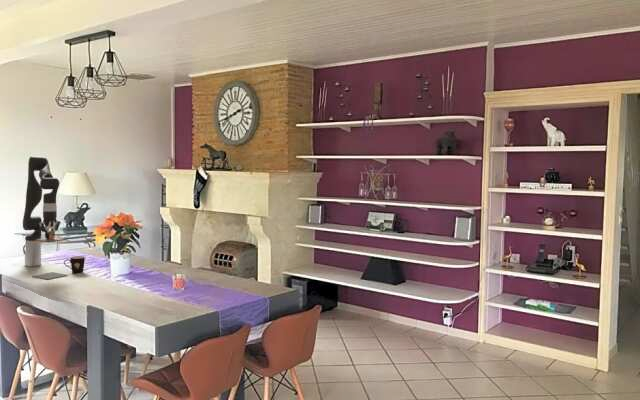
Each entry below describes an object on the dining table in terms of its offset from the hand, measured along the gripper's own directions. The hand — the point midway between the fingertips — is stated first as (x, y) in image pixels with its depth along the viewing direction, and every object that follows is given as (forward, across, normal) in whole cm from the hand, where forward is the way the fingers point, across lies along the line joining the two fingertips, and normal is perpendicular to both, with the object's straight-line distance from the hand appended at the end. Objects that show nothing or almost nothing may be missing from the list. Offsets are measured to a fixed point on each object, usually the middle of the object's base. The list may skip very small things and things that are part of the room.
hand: (49, 238), depth 327 cm
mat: (+24, 0, 0) cm, 24 cm away
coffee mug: (+24, -16, +3) cm, 29 cm away
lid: (+2, 0, 0) cm, 2 cm away
